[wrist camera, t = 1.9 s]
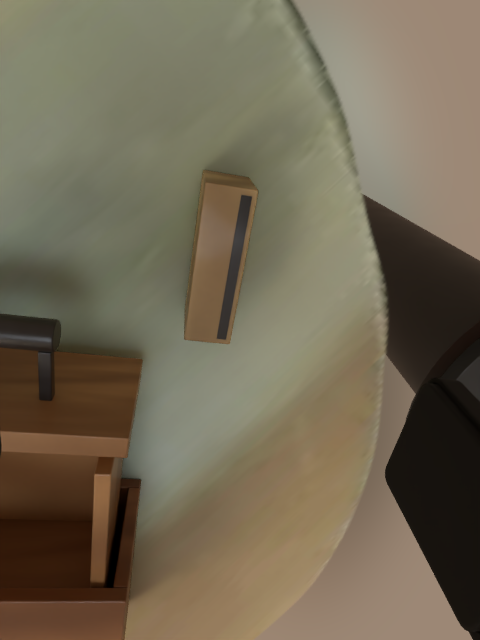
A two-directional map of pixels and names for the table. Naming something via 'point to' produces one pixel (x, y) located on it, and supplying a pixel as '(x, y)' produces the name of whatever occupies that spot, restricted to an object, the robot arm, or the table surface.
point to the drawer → (60, 456)
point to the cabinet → (79, 593)
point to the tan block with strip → (218, 255)
